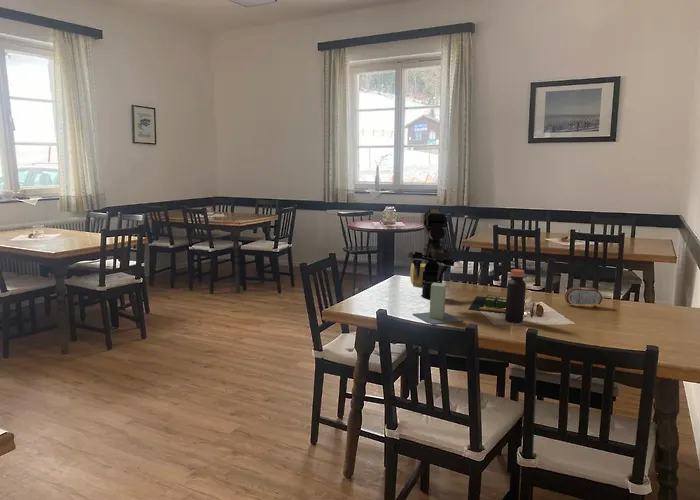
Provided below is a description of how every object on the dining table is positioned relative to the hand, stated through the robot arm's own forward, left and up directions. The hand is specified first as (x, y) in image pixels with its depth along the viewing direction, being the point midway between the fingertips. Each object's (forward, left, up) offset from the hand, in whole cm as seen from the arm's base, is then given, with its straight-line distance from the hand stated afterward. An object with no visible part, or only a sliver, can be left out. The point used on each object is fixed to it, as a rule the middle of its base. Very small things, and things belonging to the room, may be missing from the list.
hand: (427, 279), depth 221 cm
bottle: (-23, +27, -12) cm, 38 cm away
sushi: (-33, +7, -13) cm, 36 cm away
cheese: (-21, -40, -12) cm, 47 cm away
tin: (-67, +19, -12) cm, 71 cm away
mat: (+4, +14, -12) cm, 19 cm away
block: (+4, +14, -12) cm, 19 cm away
